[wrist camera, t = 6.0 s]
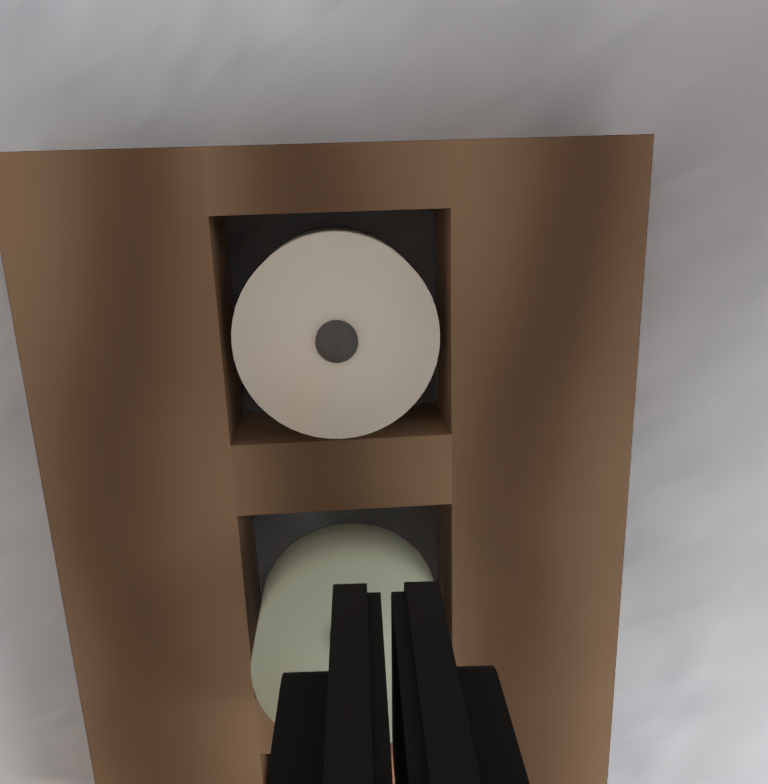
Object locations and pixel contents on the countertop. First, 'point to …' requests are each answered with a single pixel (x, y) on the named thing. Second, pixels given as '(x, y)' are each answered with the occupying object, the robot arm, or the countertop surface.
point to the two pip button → (325, 600)
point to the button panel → (321, 455)
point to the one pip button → (335, 334)
